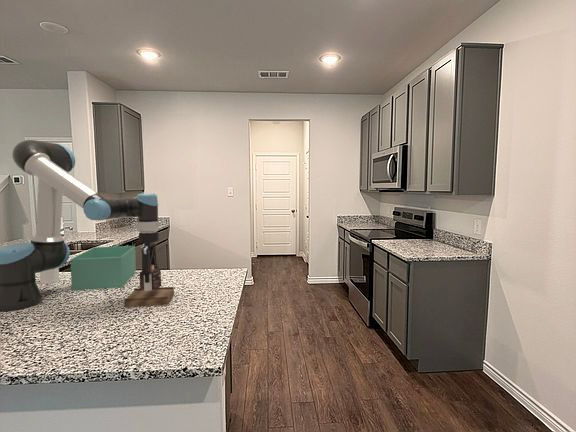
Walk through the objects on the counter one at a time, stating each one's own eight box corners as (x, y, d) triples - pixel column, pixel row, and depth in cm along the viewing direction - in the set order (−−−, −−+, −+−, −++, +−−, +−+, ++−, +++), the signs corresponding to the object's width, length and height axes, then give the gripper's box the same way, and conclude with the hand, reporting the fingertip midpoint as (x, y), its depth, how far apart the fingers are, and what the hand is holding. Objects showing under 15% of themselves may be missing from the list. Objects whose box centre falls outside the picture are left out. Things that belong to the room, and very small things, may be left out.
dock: (124, 307, 126) (124, 299, 126) (134, 295, 140) (134, 288, 139) (167, 304, 129) (167, 297, 128) (173, 293, 142) (173, 286, 142)
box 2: (153, 290, 130) (152, 272, 130) (139, 289, 131) (138, 272, 131) (161, 286, 136) (161, 268, 136) (148, 285, 137) (147, 268, 137)
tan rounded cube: (144, 271, 131) (144, 266, 131) (146, 269, 134) (146, 265, 134) (152, 271, 132) (151, 266, 132) (154, 269, 135) (154, 264, 135)
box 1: (136, 271, 183) (135, 245, 182) (122, 287, 152) (121, 257, 151) (94, 273, 177) (93, 247, 176) (71, 291, 147) (70, 259, 146)
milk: (54, 283, 158) (52, 238, 156) (39, 284, 156) (37, 238, 155) (59, 279, 164) (57, 236, 162) (45, 280, 162) (43, 236, 160)
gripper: (152, 234, 123) (154, 294, 124) (163, 228, 143) (165, 280, 144) (131, 235, 121) (133, 295, 123) (145, 229, 141) (147, 281, 143)
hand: (150, 287), depth 134 cm, fingers closed on box 2, 7 cm apart
